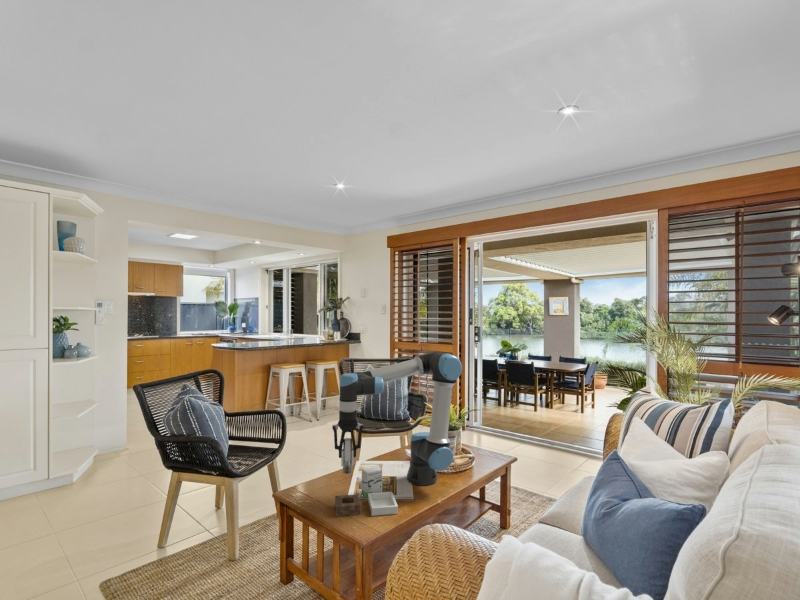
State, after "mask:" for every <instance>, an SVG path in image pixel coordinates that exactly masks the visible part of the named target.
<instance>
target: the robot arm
mask: <svg viewBox="0 0 800 600" xmlns="http://www.w3.org/2000/svg"><path fill="white" fill-rule="evenodd" d="M462 372H463V363H462V362H461V360H460V359H459V357H457V356H456V355H453V354H452V353H447V352H446V353H445V352H441V351H431V352H428V353H423V354H420V355H415V357H414V358H412V359H409V360H406V361H401V362H397V363H393V364H389V365H385V366H381V367H377V368H374V369H371V370H370V369H369V370H365V371H354V372H353V373H351V372H350V373H349V372H348V373H343V374H341V375H340V376H339V406H338V407H339V413H338V416H339V417H338V422H337V423H336V424H332V427H331V428H332V430H333V434H334V435H333V438H334V439H333V440H334V441H333V442H334V449H335V450H338V458H339V459H341V462H340V466H341V467H343V453H344V451H343V441H344V438H345V437H346V436H345V435H346V434H347V433H350V436H351V437H350V438H351V439H352V460H351V467H353V466H354V458H356V457H357V450H358V449H360V448H361V445H362V433H363V432H362V431H363V430H364V424H363V423H359V422H358V420H357V418H358V411H357V408H358V397H359V396H369V395H370V396H371V395H380V394H382V393H383V392H384V389H385V384H386V383H388V382H392V381H397V380H400V379H404V378H409V377H412V376H415V375H418V376H422V375H431V381H432V383H433V384H434V386H433V387H434V388H433V395H432V407H431V415H430V416H431V417H430V424H429V425H430V427H429V432H428V431H427V432H426V431H424V432H422V431H421V432H415V433H413V434H411V435H410V465H409V467H408V471H407V474H406V480H407V481H409V482H408V483H410V482H411V483H410V484H413V485H416V486H430V485H434V484H436V483H437V482H438V474H437V472H443V471H446V470H447V469H448V468H449V467H451V465H452V463H453V460H454V453H453V451H452V449H451V448H450V447H451V440H450V438H449V437H448V435H449V424H450V413H451V407H452V406H451V404H452V397H453V396H452V395H453V387H454V386H455V385H456V383H457V380H458V379H459V377H460V376H461V375H462ZM356 428H357V431H358V432H357V433H358V434H357V444H356V439H355V432H354V431H355V430H356ZM338 429H340V430H341V436H340V441H339V445H338Z"/></svg>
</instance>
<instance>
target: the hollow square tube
mask: <svg viewBox="0 0 800 600" xmlns="http://www.w3.org/2000/svg"><path fill="white" fill-rule="evenodd" d="M334 501H335V505H334V506H335V516H336V517H345V516H346V517H347V516H358V515H359V516H360V515H361V511H362V510H361V506H362V505H361V500H360V497H359V494H356V493H355V494H344V495H335V499H334Z"/></svg>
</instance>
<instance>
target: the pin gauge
mask: <svg viewBox="0 0 800 600" xmlns="http://www.w3.org/2000/svg"><path fill="white" fill-rule="evenodd" d="M352 448H353V443H352V437H344V441H343V446H342V449H343V451H344V453H343V466H342V473H343V474H346V475H347V474H348V475H349V474H351V473H352V465H351V460H352Z"/></svg>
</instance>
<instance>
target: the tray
mask: <svg viewBox="0 0 800 600" xmlns="http://www.w3.org/2000/svg"><path fill="white" fill-rule="evenodd" d="M367 504H368V507H369V510H370V513H371V517H373V516H383V515H384V516H387V515H398V514H399V505H398V503H397V500H396V498H395V495H394V493H393V491H385V492H384V491H382V493H369V494H368V498H367Z"/></svg>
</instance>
